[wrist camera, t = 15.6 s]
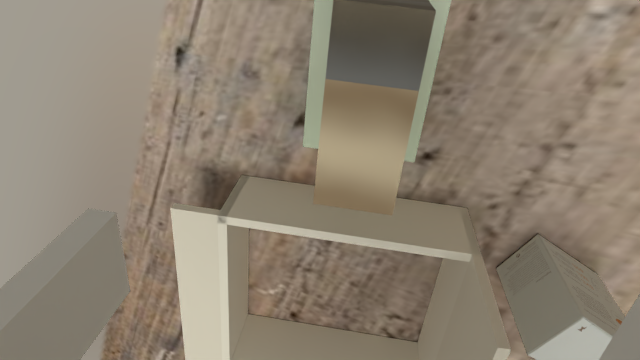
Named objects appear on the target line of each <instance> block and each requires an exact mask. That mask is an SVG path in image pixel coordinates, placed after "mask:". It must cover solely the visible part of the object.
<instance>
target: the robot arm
mask: <svg viewBox="0 0 640 360" xmlns="http://www.w3.org/2000/svg"><path fill="white" fill-rule="evenodd" d="M129 292H130V287H129V281H128V275H127V270H126V264H125V258H124V253H123V247H122V242H121V236H120V231H119V225H118V219H117V214H116V213H115V212H109V211H102V210H95V209H87V210H86V211H85V212H84V213H83V214H82V215H81V216H79V218H77V219H76V220H75V221H74V222H73V223H72V224H71V225H70V226H69V227H67V228H66V229H65V230H64V231H63V232H62V233H61V234H60V235H59V236H57V237H56V238H55V239H54V240H53V241H52V242H51V243H50V244H49V245H47V246H46V247H45V248H44V249H43V250H42V251H41V252H40V253H39V254H38V255H37V256H35V257H34V258H33V259H32V260H31V261H30V262H29V263H28V264H27V265H25V266H24V267H23V268H22V269H21V270H20V271H19V272H18V273H17V274H16V275H14V276H13V277H12V278H11V279H10V280H9V281H8V282H7V283H6V284H5V285H4V286H2V287H1V288H0V360H81V358H82V356H83V355H84V354H85V353H86V351H87V350H88V348H89V347H90V346H91V344H92V343H93V341H94V340H95V339H96V337H97V336H98V335H99V333H100V332H101V330H102V329H103V328H104V326H105V325H106V324H107V322H108V321H109V319H110V318H111V317H112V315H113V314H114V313H115V311H116V310H117V308H118V307H119V306H120V304H121V303H122V301H123V300H124V299H125V297H126V296H127V295H128V293H129ZM599 360H640V294H639V296H638V298H637V299H636V301H635V302H634V304H633V306H632V307H631V309H630V310H629V312H628V314H627V315H626V317H625V318H624V320H623V322H622V323H621V325H620V326H619V328H618V330H617V331H616V333H615V334H614V336H613V338H612V339H611V341H610V342H609V344H608V346H607V347H606V349H605V351H604V352H603V354H602V355H601V357H600V359H599Z"/></svg>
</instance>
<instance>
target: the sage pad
mask: <svg viewBox="0 0 640 360" xmlns="http://www.w3.org/2000/svg"><path fill="white" fill-rule="evenodd" d="M429 2H430V3H431V5H432V6H433V7H434V9H435V10H436V14H435V18H434V23H433V28H432V32H431V37H430V42H429V46H428V51H427V56H426V60H425V65H424V70H423V74H422V79H421V84H420V88H419V93H418V98H417V103H416V107H415V112H414V117H413V121H412V126H411V131H410V135H409V140H408V145H407V149H406V154H405V159H404V161H408V162H415V158H416V153H417V149H418V145H419V140H420V136H421V131H422V127H423V123H424V118H425V114H426V110H427V105H428V101H429V96H430V92H431V88H432V83H433V79H434V74H435V70H436V66H437V61H438V57H439V52H440V48H441V44H442V39H443V35H444V31H445V26H446V22H447V17H448V13H449V9H450V4H451V0H429ZM332 8H333V0H314V11H313V24H312V36H311V49H310V62H309V74H308V87H307V99H306V112H305V125H304V137H303V147H308V148H315V149H318V148H319V138H320V128H321V118H322V108H323V98H324V88H325V78H326V68H327V58H328V48H329V38H330V28H331V18H332Z"/></svg>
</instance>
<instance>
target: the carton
mask: <svg viewBox="0 0 640 360" xmlns="http://www.w3.org/2000/svg"><path fill="white" fill-rule="evenodd" d="M314 188H315V186H313V185H307V184H300V183H293V182H286V181H279V180H272V179H266V178H259V177H252V176H245V175H241V177H240V178H239V180H238V182H237V183H236V185H235V187H234V188H233V190H232V192H231V193H230V195H229V197H228V198H227V200H226V202H225V203H224V205H223V207H222V208H221V210H217V209H211V208H204V207H197V206H191V205H184V204H178V203H174V204H173V206H172V207H171V218H172V228H173V238H174V248H175V258H176V269H177V279H178V289H179V299H180V309H181V319H182V330H183V340H184V350H185V360H507V358H508V356H509V353H510V351H511V348H510V345H509V341H508V338H507V335H506V332H505V328H504V325H503V322H502V319H501V315H500V312H499V309H498V306H497V302H496V299H495V296H494V293H493V290H492V286H491V283H490V280H489V277H488V273H487V270H486V267H485V264H484V260H483V257H482V254H481V251H480V247H479V244H478V241H477V238H476V235H475V231H474V228H473V225H472V222H471V218H470V215H469V212H468V209H467V208H464V207H457V206H450V205H443V204H437V203H430V202H423V201H416V200H409V199H402V198H396V201H395V205H394V210H393V215H386V214H379V213H372V212H366V211H359V210H352V209H345V208H339V207H332V206H325V205H319V204H313V198H314ZM249 228H252V229H259V230H265V231H271V232H278V233H284V234H291V235H297V236H304V237H310V238H317V239H323V240H330V241H336V242H343V243H349V244H356V245H362V246H369V247H375V248H382V249H388V250H394V251H401V252H407V253H414V254H420V255H427V256H433V257H440V258H443V260H442V263H441V267H440V270H439V273H438V276H437V280H436V283H435V286H434V290H433V293H432V296H431V299H430V303H429V306H428V309H427V313H426V316H425V319H424V323H423V326H422V329H421V332H420V336H419V339H418V342H412V341H406V340H400V339H395V338H389V337H383V336H377V335H371V334H365V333H359V332H353V331H347V330H341V329H335V328H329V327H323V326H317V325H311V324H305V323H299V322H293V321H287V320H282V319H276V318H270V317H264V316H258V315H252V314H248V275H249Z"/></svg>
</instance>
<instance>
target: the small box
mask: <svg viewBox="0 0 640 360" xmlns="http://www.w3.org/2000/svg"><path fill="white" fill-rule="evenodd" d="M496 270H497V273H498V275H499V278H500V281H501V284H502V287H503V289H504V292H505V295H506V298H507V300H508V303H509V306H510V309H511V311H512V314H513V317H514V320H515V322H516V325H517V328H518V331H519V333H520V336H521V339H522V342H523V344H524V347H525V350H526V353H527V355H528V356H530V357H532V358H533V359H535V360H599V359H600V357H601V355H602V354H603V352H604V351H605V349H606V347H607V346H608V344H609V342H610V341H611V339H612V338H613V336H614V334H615V333H616V331H617V330H618V328H619V326H620V325H621V323H622V322H623V320H624V318H625V316H624V314H623V313H622V311H621V310H620V308H619V307H618V305H617V304H616V302H615V301H614V299H613V297H612V296H611V294H610V293H609V291H608V290H607V288H606V287H605V285H604V284H603V282H602V281H601V279H600V278H599V276H598V274H597V273H595V272H593V271H592V270H590V269H589V268H587V267H586V266H584V265H583V264H581V263H580V262H579V261H577V260H576V259H574V258H573V257H571V256H570V255H568V254H567V253H565V252H564V251H562V250H561V249H560V248H558V247H556V246H555V245H553V244H552V243H551V242H549V241H548V240H546V239H545V238H543V237H542V236H541V235H539V234H538V235H536V236H535V237H534V238H533V239H532V240H530V241H529V242H528V243H527V244H525V245H524V246H523V247H522V248H520V249H519V250H518V251H517V252H516V253H514V254H513V255H512V256H511V257H510V258H508V259H507V260H506V261H505V262H503V263H502V264H501V265H500V266H499V267H497V268H496Z"/></svg>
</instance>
